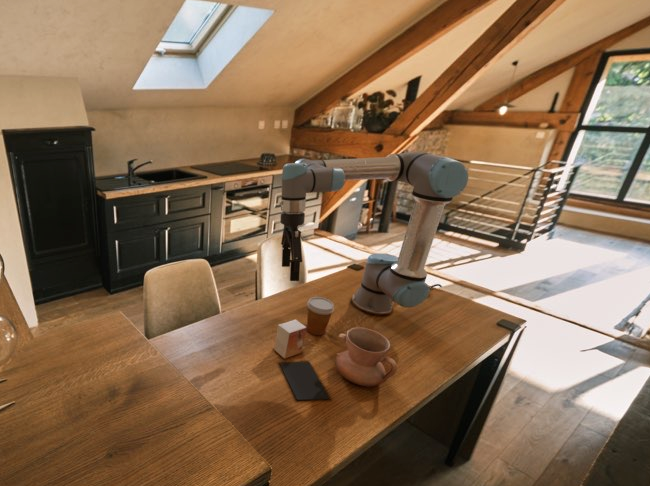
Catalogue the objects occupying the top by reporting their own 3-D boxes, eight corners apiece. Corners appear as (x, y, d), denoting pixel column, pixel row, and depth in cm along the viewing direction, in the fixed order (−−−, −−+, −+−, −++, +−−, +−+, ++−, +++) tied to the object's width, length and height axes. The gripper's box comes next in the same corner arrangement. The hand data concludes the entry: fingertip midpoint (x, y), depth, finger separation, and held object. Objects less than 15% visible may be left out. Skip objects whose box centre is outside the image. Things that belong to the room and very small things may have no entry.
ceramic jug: (321, 369, 124) (330, 333, 118) (344, 352, 132) (353, 317, 127) (377, 404, 111) (389, 365, 105) (398, 382, 119) (411, 345, 114)
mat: (279, 363, 126) (279, 362, 126) (308, 362, 127) (308, 361, 127) (297, 400, 111) (297, 399, 111) (329, 399, 112) (330, 398, 112)
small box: (284, 359, 128) (289, 333, 124) (273, 349, 132) (277, 324, 128) (302, 352, 131) (307, 327, 127) (290, 343, 136) (295, 318, 132)
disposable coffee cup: (325, 324, 148) (331, 297, 143) (331, 339, 139) (338, 311, 134) (300, 322, 148) (305, 295, 144) (305, 336, 140) (310, 309, 135)
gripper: (274, 205, 136) (272, 261, 142) (289, 220, 112) (286, 287, 118) (295, 204, 135) (293, 261, 141) (315, 220, 112) (311, 287, 118)
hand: (289, 273), depth 130 cm, fingers open, 13 cm apart
